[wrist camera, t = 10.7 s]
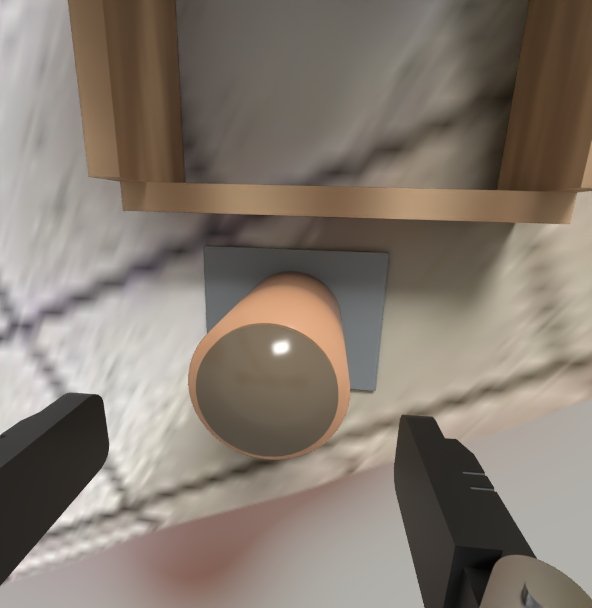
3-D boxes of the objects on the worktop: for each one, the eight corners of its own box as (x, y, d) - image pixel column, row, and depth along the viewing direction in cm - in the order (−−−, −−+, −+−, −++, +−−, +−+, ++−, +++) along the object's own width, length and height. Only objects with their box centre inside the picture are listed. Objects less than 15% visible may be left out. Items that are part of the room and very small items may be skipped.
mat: (210, 376, 21) (208, 378, 21) (205, 245, 19) (203, 246, 19) (374, 388, 20) (375, 390, 20) (388, 252, 18) (389, 253, 18)
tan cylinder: (243, 362, 20) (188, 458, 12) (242, 268, 19) (179, 309, 11) (338, 368, 20) (345, 473, 12) (344, 273, 19) (357, 319, 10)
